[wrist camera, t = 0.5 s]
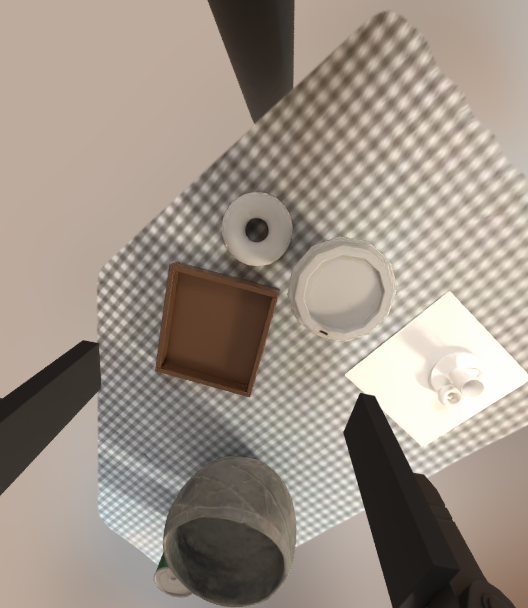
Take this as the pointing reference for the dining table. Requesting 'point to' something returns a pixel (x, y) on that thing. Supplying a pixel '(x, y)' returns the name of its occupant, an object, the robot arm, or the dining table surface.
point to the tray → (214, 328)
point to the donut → (267, 211)
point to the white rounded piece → (438, 371)
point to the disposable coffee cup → (342, 288)
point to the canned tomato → (169, 581)
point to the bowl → (232, 532)
